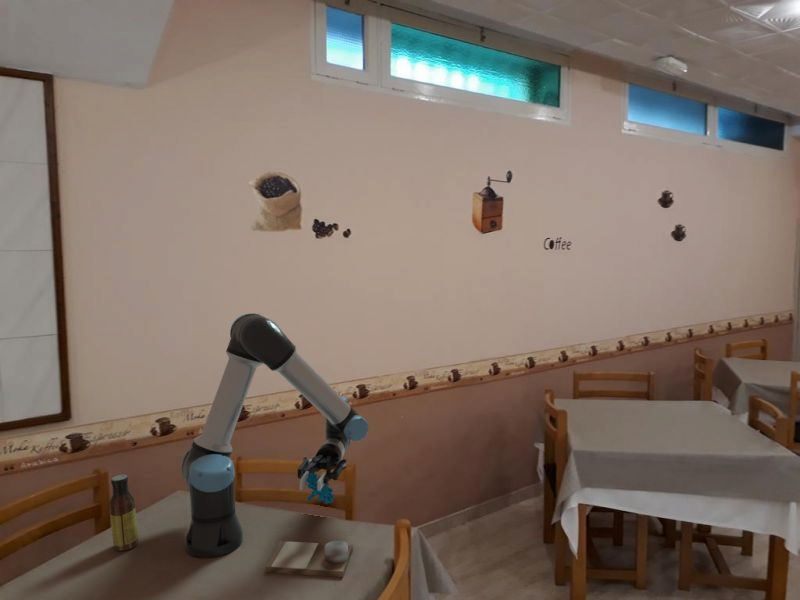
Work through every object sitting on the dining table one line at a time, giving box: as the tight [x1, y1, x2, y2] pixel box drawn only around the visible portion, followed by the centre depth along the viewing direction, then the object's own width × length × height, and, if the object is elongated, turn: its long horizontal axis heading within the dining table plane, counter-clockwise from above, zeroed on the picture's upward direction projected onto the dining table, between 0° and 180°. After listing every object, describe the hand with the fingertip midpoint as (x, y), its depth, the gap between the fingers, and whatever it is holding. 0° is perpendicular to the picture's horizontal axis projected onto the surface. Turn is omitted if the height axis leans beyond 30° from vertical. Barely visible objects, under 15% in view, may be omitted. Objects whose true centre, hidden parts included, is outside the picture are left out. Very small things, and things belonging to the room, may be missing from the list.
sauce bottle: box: [109, 474, 139, 552], centre depth 153 cm, size 6×6×20 cm
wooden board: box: [264, 539, 354, 578], centre depth 146 cm, size 20×12×4 cm, turn 83°
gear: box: [306, 472, 335, 505], centre depth 158 cm, size 11×6×10 cm
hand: (309, 485), depth 152 cm, fingers closed on gear, 4 cm apart
